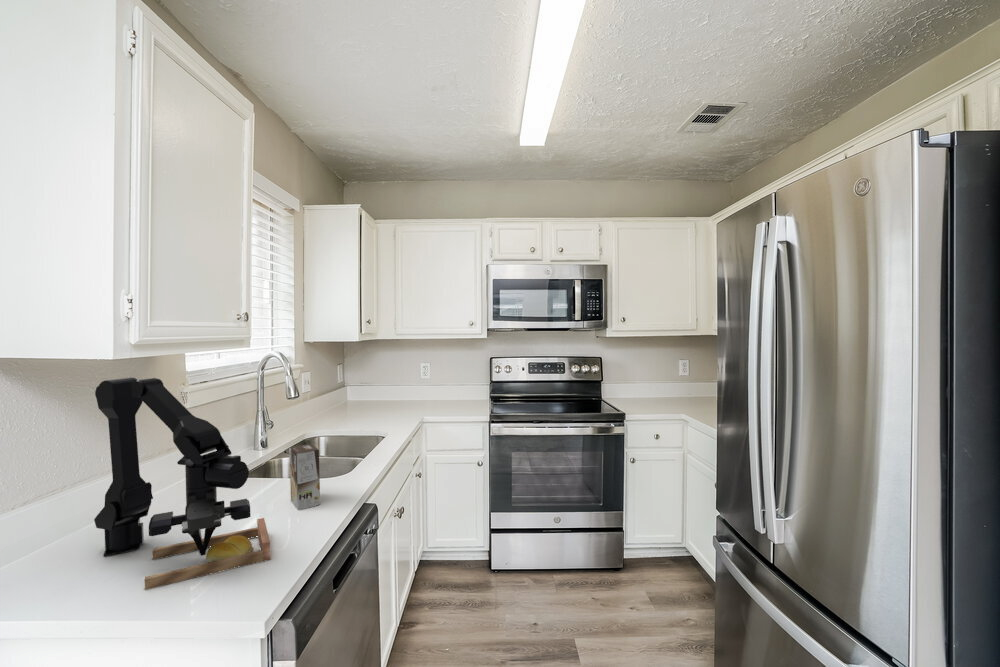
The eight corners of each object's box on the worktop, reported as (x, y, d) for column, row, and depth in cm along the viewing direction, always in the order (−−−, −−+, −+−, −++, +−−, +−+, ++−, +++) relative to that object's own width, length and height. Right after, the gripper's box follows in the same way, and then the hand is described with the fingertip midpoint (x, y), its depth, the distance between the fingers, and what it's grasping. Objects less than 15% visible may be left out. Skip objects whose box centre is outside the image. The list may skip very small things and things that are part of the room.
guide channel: (144, 589, 95) (144, 569, 95) (153, 557, 108) (152, 539, 108) (270, 559, 107) (270, 541, 106) (264, 533, 120) (264, 517, 120)
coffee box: (321, 505, 138) (320, 449, 138) (297, 510, 134) (296, 453, 134) (312, 495, 145) (310, 443, 145) (289, 500, 142) (288, 446, 141)
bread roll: (199, 561, 107) (198, 543, 107) (239, 545, 114) (238, 528, 114) (219, 571, 102) (219, 552, 102) (259, 553, 110) (259, 536, 110)
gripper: (144, 504, 94) (146, 583, 95) (251, 487, 104) (252, 559, 104) (150, 488, 104) (152, 559, 104) (248, 473, 113) (249, 539, 114)
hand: (203, 554), depth 106 cm, fingers closed
